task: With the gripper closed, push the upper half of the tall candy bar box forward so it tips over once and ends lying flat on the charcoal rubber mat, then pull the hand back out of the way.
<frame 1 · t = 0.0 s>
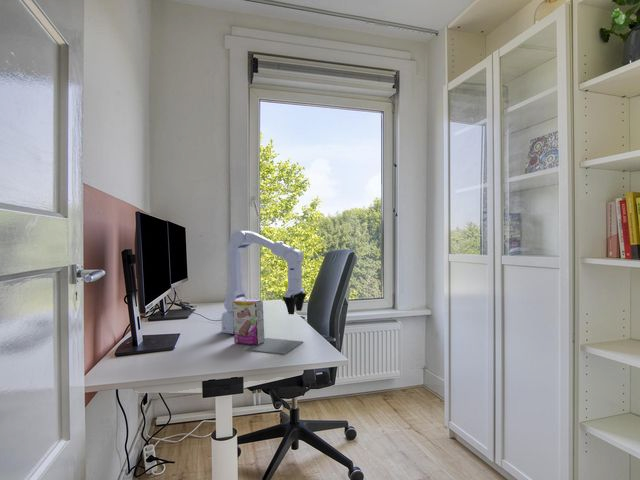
hand: (295, 312, 152), 10 cm above the table, tool pointing down, fingers open, 7 cm apart
charcoal mat: (275, 346, 140), on the table
candy bar box: (249, 343, 144), on the table, touching charcoal mat
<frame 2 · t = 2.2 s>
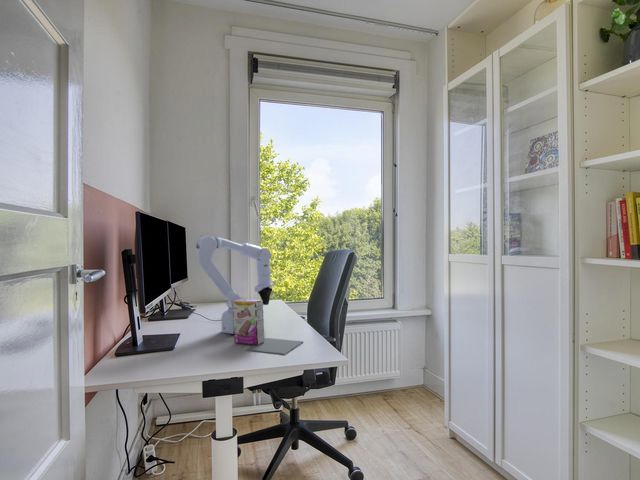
hand: (265, 304, 169), 10 cm above the table, tool pointing down, fingers closed
nothing on the table moved.
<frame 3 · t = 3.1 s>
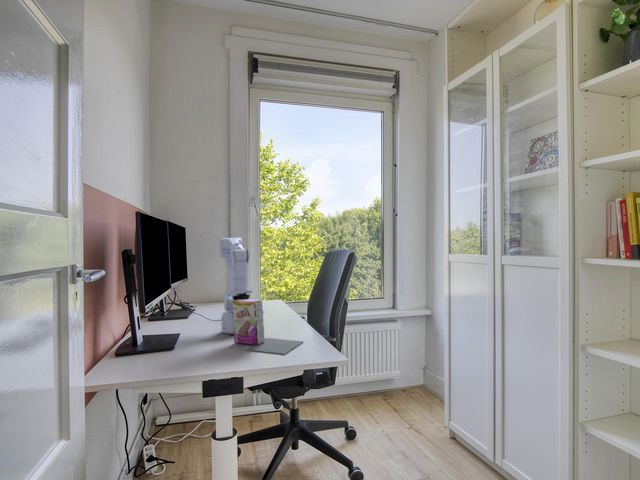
hand: (241, 313, 150), 11 cm above the table, tool pointing down, fingers closed
nothing on the table moved.
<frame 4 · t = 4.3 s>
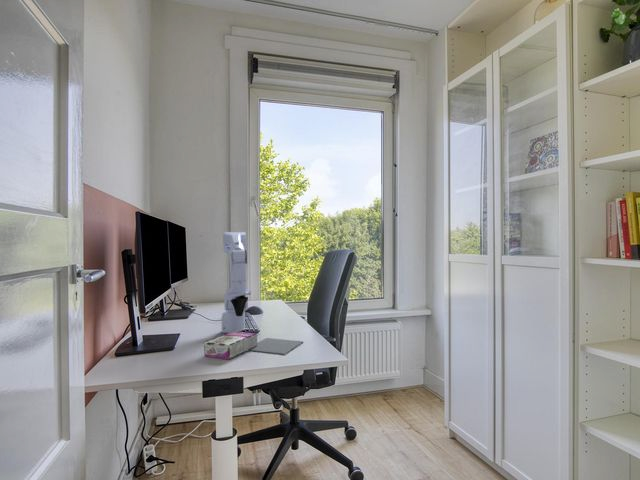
hand: (239, 315, 145), 10 cm above the table, tool pointing down, fingers closed
candy bar box: (246, 338, 142), point 3 cm above the table, touching charcoal mat
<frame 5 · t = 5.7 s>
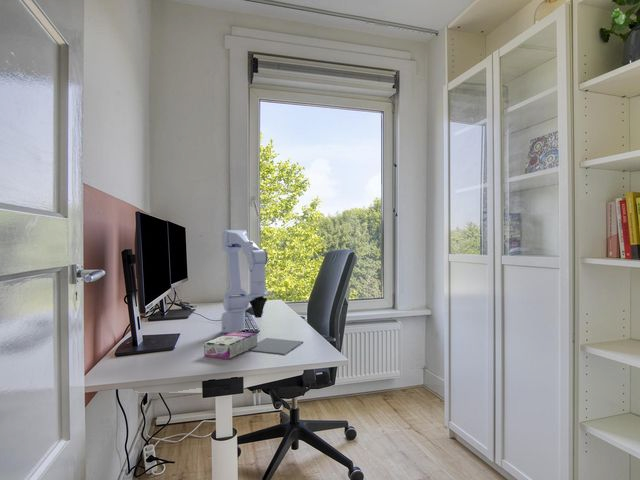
hand: (258, 317, 142), 10 cm above the table, tool pointing down, fingers closed
nothing on the table moved.
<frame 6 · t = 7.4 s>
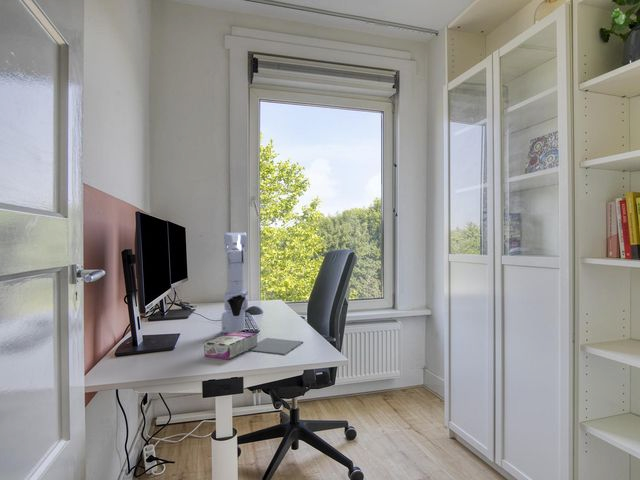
hand: (236, 315, 146), 10 cm above the table, tool pointing down, fingers closed
nothing on the table moved.
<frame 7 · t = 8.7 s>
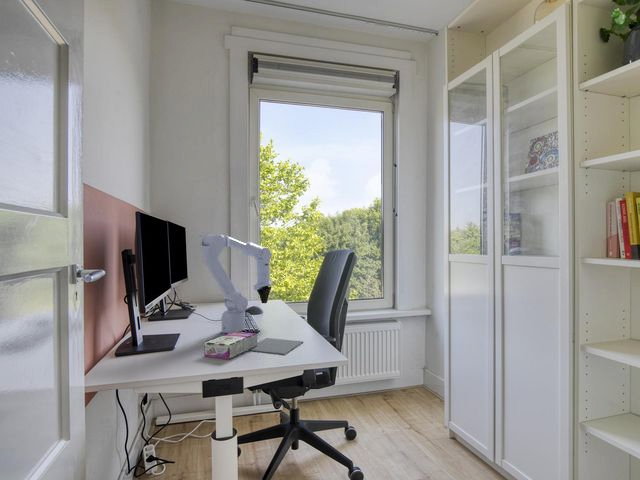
hand: (264, 303, 172), 10 cm above the table, tool pointing down, fingers closed
nothing on the table moved.
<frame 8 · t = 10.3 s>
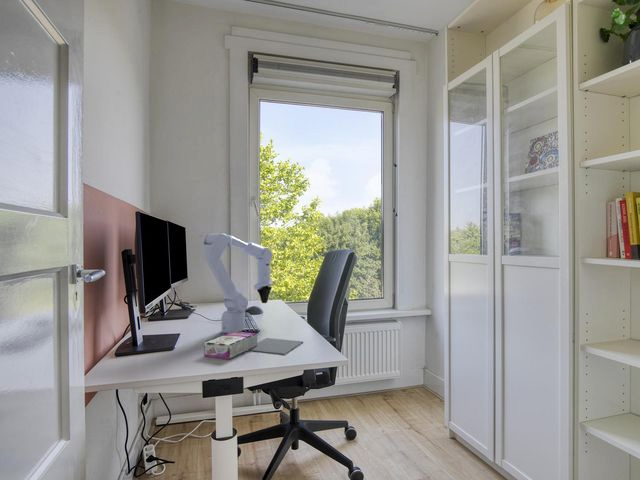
hand: (264, 302, 173), 10 cm above the table, tool pointing down, fingers closed
nothing on the table moved.
at the end: candy bar box tilted 90°; candy bar box touching charcoal mat, table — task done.
